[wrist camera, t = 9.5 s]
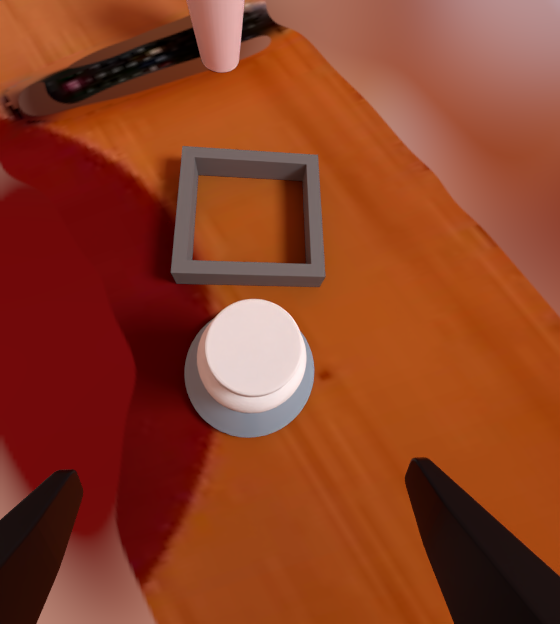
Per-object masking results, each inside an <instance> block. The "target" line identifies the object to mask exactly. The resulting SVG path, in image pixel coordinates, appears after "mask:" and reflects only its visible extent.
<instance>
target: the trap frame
mask: <svg viewBox="0 0 560 624" xmlns="http://www.w3.org/2000/svg"><path fill="white" fill-rule="evenodd" d="M198 175H209V176H226V177H244V178H261V179H279V180H297V181H302V183H303V206H304V229H305V252H306V264H294V263H261V262H228V261H194V260H192V254H193V240H194V227H195V213H196V199H197V185H198ZM171 274H172V276H173V278H174V279H175V281H176V283H177V284H214V285H258V286H301V287H320V285H321V283H322V282H323V280H324V278H325V263H324V246H323V230H322V214H321V198H320V182H319V166H318V155H310V154H295V153H280V152H264V151H249V150H234V149H218V148H203V147H188V146H183V147H182V158H181V168H180V179H179V190H178V200H177V211H176V222H175V233H174V243H173V254H172V265H171Z"/></svg>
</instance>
